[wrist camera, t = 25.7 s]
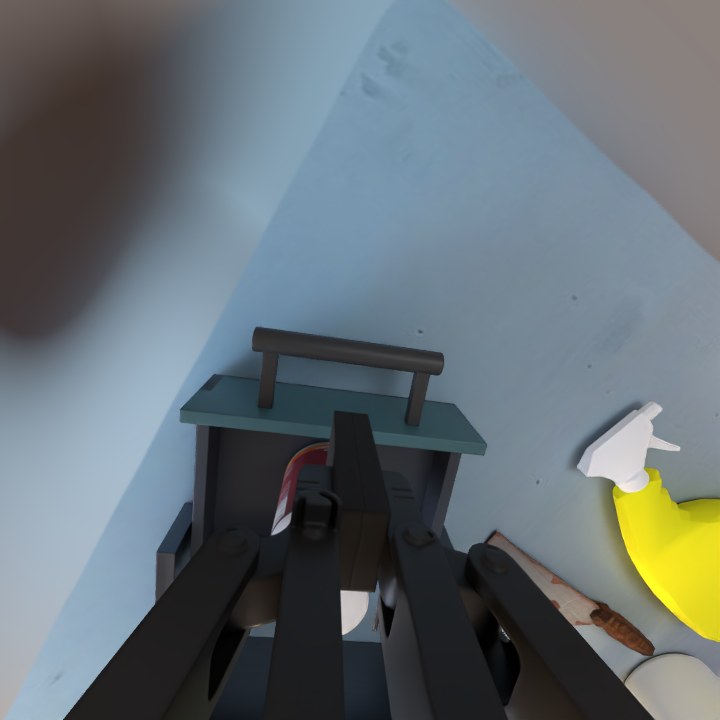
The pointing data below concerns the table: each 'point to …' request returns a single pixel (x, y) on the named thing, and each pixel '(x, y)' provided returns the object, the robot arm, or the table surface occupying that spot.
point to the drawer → (316, 431)
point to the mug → (676, 688)
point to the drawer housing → (250, 674)
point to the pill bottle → (315, 454)
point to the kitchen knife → (576, 601)
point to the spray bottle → (661, 523)
